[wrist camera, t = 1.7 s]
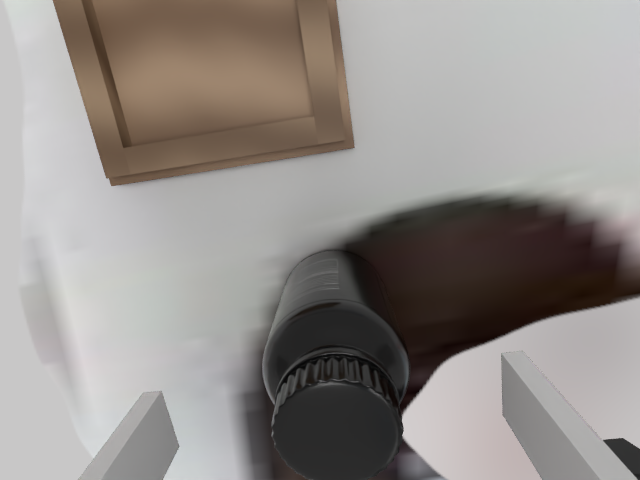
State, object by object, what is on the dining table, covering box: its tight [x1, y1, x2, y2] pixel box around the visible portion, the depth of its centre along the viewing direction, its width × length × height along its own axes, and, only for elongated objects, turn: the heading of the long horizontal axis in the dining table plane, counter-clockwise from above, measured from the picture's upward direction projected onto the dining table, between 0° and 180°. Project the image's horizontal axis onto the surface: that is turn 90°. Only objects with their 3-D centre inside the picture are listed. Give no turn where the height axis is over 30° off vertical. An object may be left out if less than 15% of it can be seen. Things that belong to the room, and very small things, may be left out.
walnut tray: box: [53, 0, 354, 186], centre depth 19 cm, size 15×15×2 cm
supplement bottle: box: [262, 251, 410, 480], centre depth 18 cm, size 7×7×12 cm
